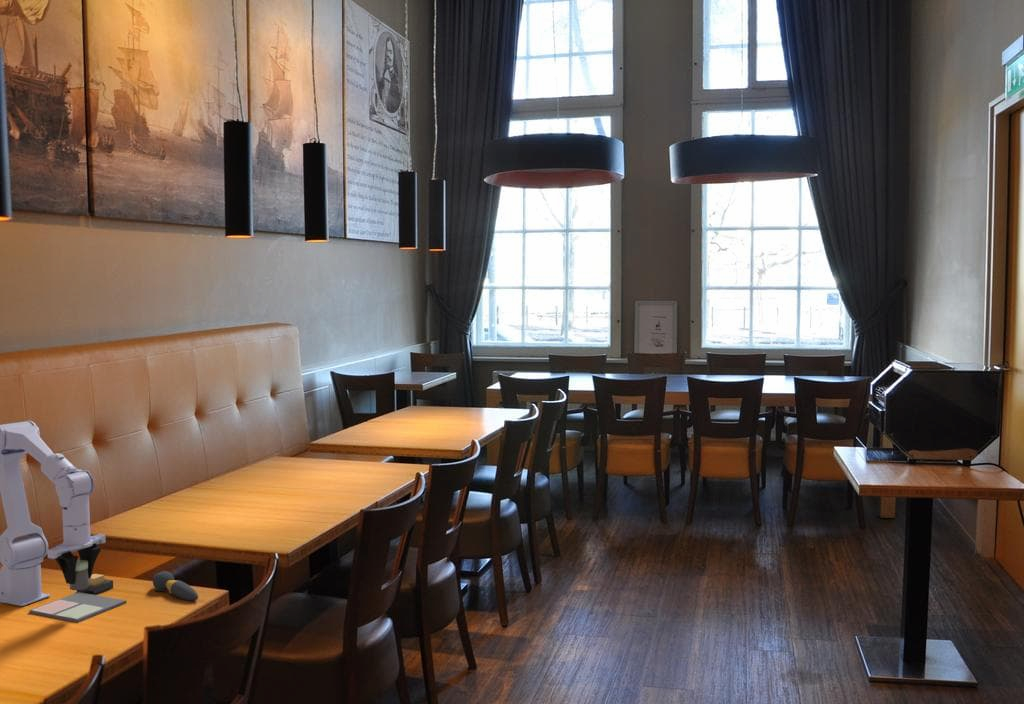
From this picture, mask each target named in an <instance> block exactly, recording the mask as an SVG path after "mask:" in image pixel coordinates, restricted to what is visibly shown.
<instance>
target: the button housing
mask: <svg viewBox="0 0 1024 704" xmlns="http://www.w3.org/2000/svg"><path fill="white" fill-rule="evenodd" d="M104 580H105V582H103V583H100V584H97V585H95V586H93V585H89V587H87V588H85V589H81V590H76V593H78V592H81V593H87V594H92V595H98V594H100V593H104V592H106V591H109V590H112V589H114V580H113V579H109V578H108V579H107V578H104ZM111 588H112V589H111Z"/></svg>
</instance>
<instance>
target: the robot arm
mask: <svg viewBox="0 0 1024 704" xmlns="http://www.w3.org/2000/svg"><path fill="white" fill-rule="evenodd" d="M26 454H28V455H30V456H31V457H32V458H33V459H35V460H36V461H37V462H39V463H40V464H41V465H40V470H41V472H42V473H43V474H44V476H46V477H47V478H48V479H49V480H50V481H51V482H52V483H53V484H54V485H55V486H54V487H55V492H56V495H57V496H58V502H59V503H58V504H59V506H60V507H61V510H62V511H61V514H62V534H63V535H62V537H63V538H62V539H63V542H61V543H60V544H58V545H56V546H54V547H52V548H50V549H49V542H48V540H47V538H46V536H45V534H44V532H43V528H42V527H40V526H39V525H36V524H35V523H33V522H32V520H31V514H30V510H29V505H28V499H27V494H26V488H25V485H24V480H23V475H22V471H21V466H20V461H21V459H22V457H23V456H25V455H26ZM94 489H95V481H94V477H93V475H92V474H91V473H90V471H89V470H87V469H86V470H85V469H84V470H83V469H78V468H77V467H75V466H74V464H73V463H72V462H70V460H68V459H67V457H65V456H64V454H63V453H54V452H53V451H52V449H50V447H49V446H48V445H47V444H46V442H45V441H44V440H43V439H42V437H41V433H40V428H39V427H38V426H37V424H36V423H35V422H34V421H32V420H25V421H20V422H11V423H5V424H0V496H1V500H2V501H1V502H2V507H3V510H4V516H5V521H6V526H7V528H6V529H5V530H4V531H3V532H2V533H1V534H0V564H1V565H2V567H1V568H0V603H3V604H8V605H13V606H18V607H24V606H27V605H29V604H33V603H35V602H39V601H41V600H44V599H47V598H50V597H51V594H50V593H43V592H42V591H43V590H42V589H43V588H42V567H41V566H42V565H41V563H43V562H44V558H45V557H46V556H47V559H51V560H55V562H56V563H57V564H58V566H59V568H60V570H61V572H62V575H63V577H64V580H65V583H66V584H68V585H70V584H75V569H76V563H77V560H87V561H88V578H91V575H93V571H94V567H95V563H96V560H97V558H98V556H99V555H100V552H101V550H102V549H101V548H102V547H101V546H98V545H99V544H102V545H103V544H105V543H106V542H107V541H106V534H102V533H98V534H94V535H91V521H90V520H91V519H90V517H91V516H90V514H91V513H90V494H92V493H93V491H94ZM23 536H26V537H23ZM19 537H21V538H19ZM17 538H18V539H17ZM75 552H77V553H78V555H74V553H75Z"/></svg>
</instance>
